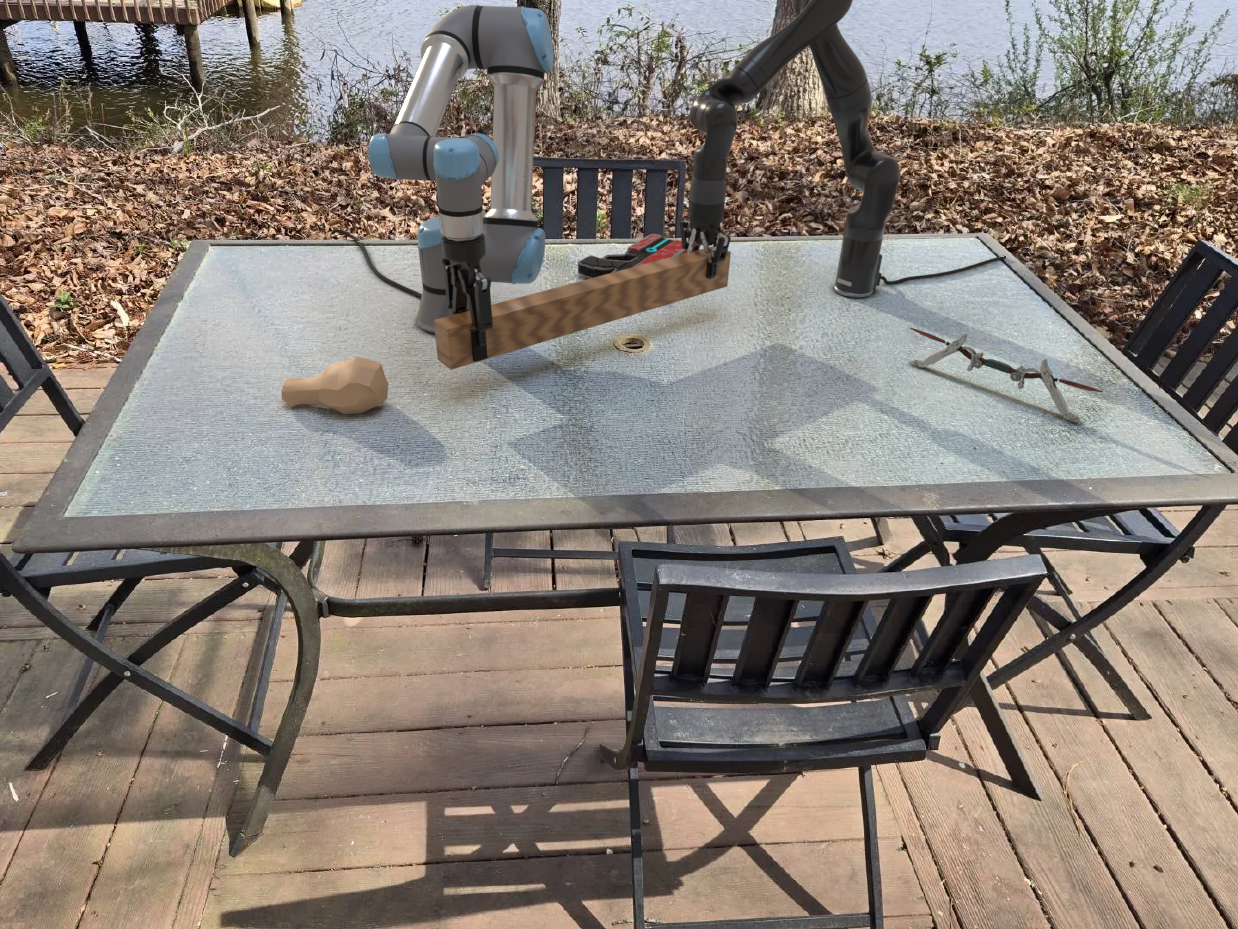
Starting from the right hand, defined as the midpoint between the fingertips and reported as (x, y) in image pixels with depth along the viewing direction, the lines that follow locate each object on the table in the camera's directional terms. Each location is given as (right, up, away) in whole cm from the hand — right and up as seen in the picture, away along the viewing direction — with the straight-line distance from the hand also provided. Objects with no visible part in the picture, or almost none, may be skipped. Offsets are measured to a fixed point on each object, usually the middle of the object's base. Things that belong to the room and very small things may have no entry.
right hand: (701, 273), depth 195 cm
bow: (+56, -28, -19) cm, 66 cm away
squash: (-71, -31, -30) cm, 83 cm away
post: (-23, -12, -13) cm, 29 cm away
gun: (-14, +8, +31) cm, 35 cm away
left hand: (-46, -21, -29) cm, 59 cm away
